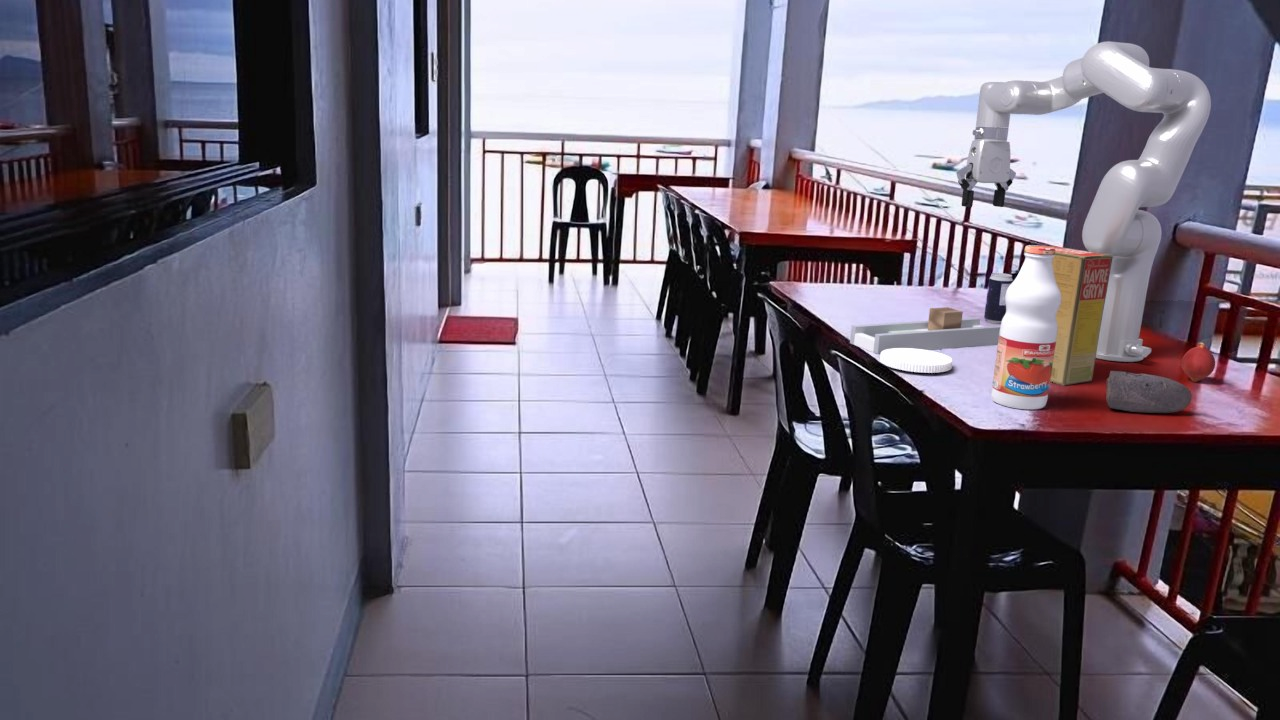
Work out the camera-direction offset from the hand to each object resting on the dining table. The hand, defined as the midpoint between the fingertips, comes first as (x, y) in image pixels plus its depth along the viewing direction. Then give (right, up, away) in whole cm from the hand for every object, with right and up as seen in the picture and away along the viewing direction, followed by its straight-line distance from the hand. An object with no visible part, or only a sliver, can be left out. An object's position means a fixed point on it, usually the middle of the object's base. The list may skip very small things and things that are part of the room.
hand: (982, 206), depth 236 cm
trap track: (-20, -34, -22) cm, 45 cm away
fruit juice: (-17, -46, -64) cm, 81 cm away
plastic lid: (-29, -40, -42) cm, 64 cm away
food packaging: (-2, -41, -45) cm, 61 cm away
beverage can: (+5, -28, +5) cm, 29 cm away
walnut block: (-16, -31, -21) cm, 41 cm away
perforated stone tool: (+5, -47, -67) cm, 82 cm away
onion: (+26, -42, -45) cm, 67 cm away
